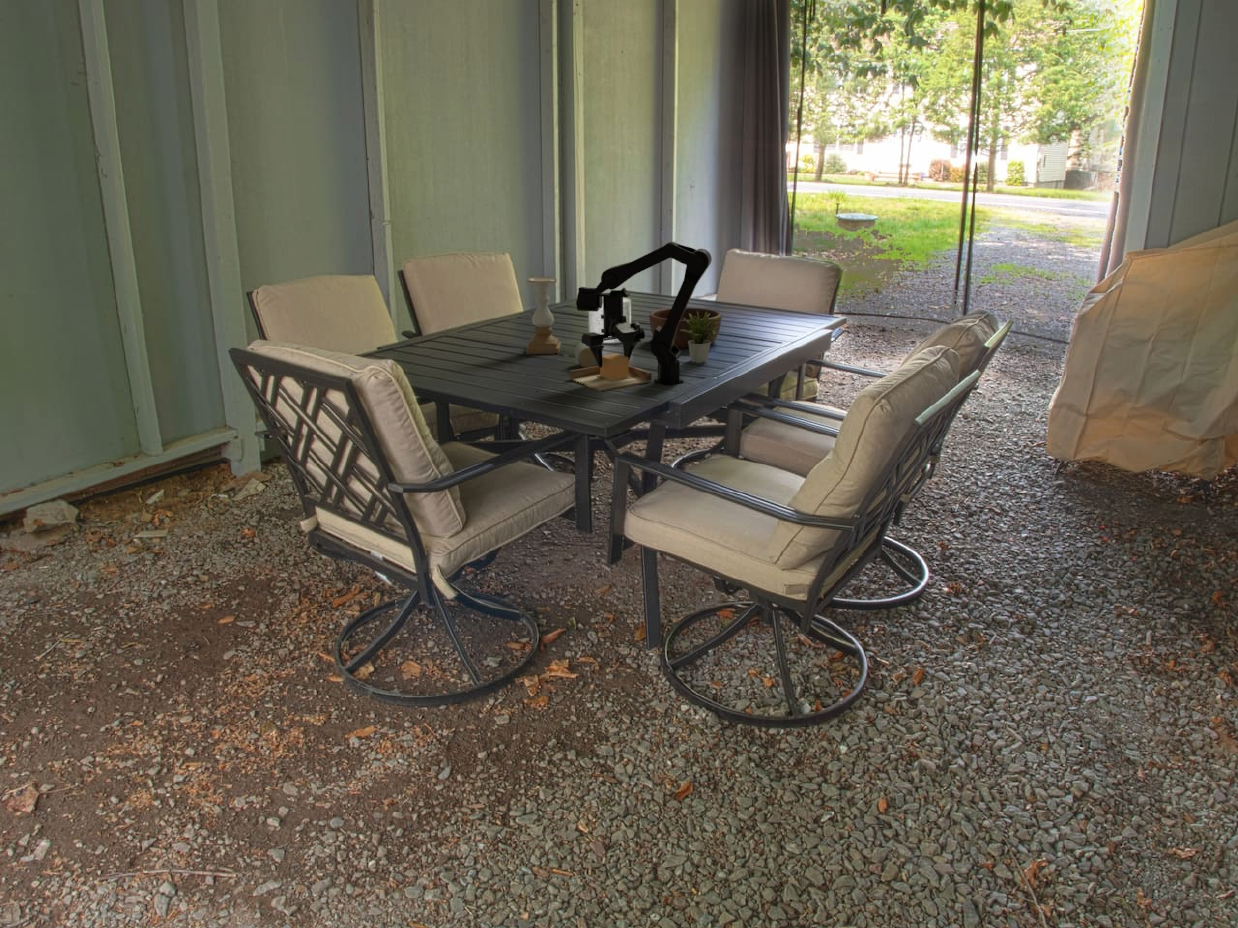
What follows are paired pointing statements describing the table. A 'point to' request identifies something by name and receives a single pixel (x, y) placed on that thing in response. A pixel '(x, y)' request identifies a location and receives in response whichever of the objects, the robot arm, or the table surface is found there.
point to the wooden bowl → (686, 324)
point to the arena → (599, 383)
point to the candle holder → (543, 320)
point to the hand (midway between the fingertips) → (613, 365)
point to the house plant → (699, 337)
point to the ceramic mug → (585, 356)
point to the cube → (614, 366)
